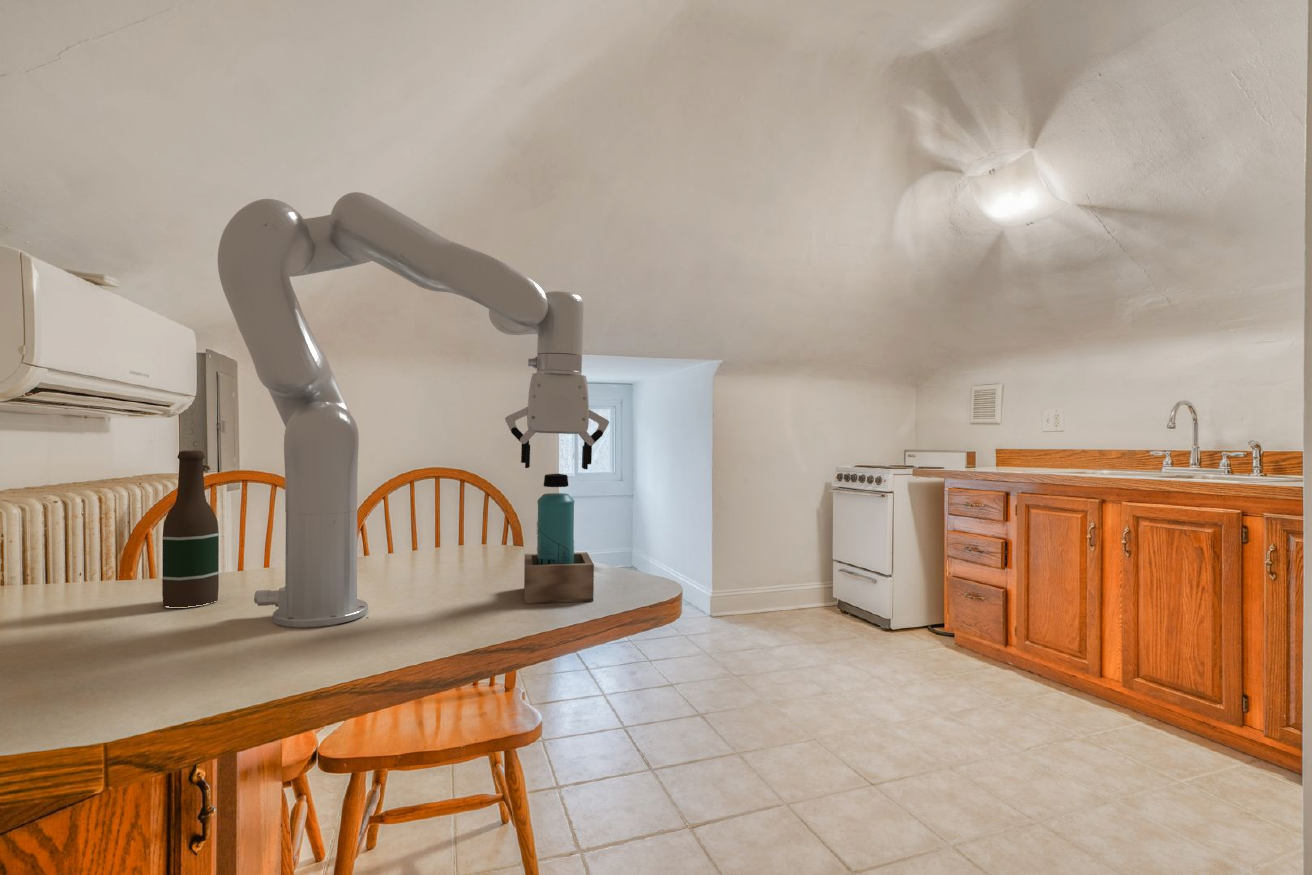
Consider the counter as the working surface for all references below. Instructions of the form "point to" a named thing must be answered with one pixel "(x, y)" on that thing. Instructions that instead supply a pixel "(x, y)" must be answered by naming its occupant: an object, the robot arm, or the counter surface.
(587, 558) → the holder
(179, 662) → the counter surface
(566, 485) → the beverage bottle
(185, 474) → the beer bottle
